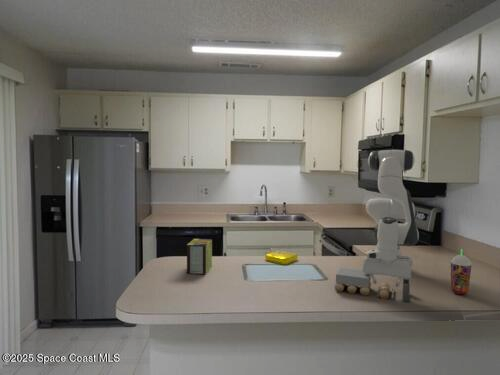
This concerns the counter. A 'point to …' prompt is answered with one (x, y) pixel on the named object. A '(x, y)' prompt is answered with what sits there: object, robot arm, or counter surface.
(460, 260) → the smoothie
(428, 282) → the counter surface
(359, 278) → the slab
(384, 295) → the roller
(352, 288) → the roller bed
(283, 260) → the element tile
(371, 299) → the counter surface
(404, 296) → the posts
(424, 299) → the counter surface
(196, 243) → the protein box
